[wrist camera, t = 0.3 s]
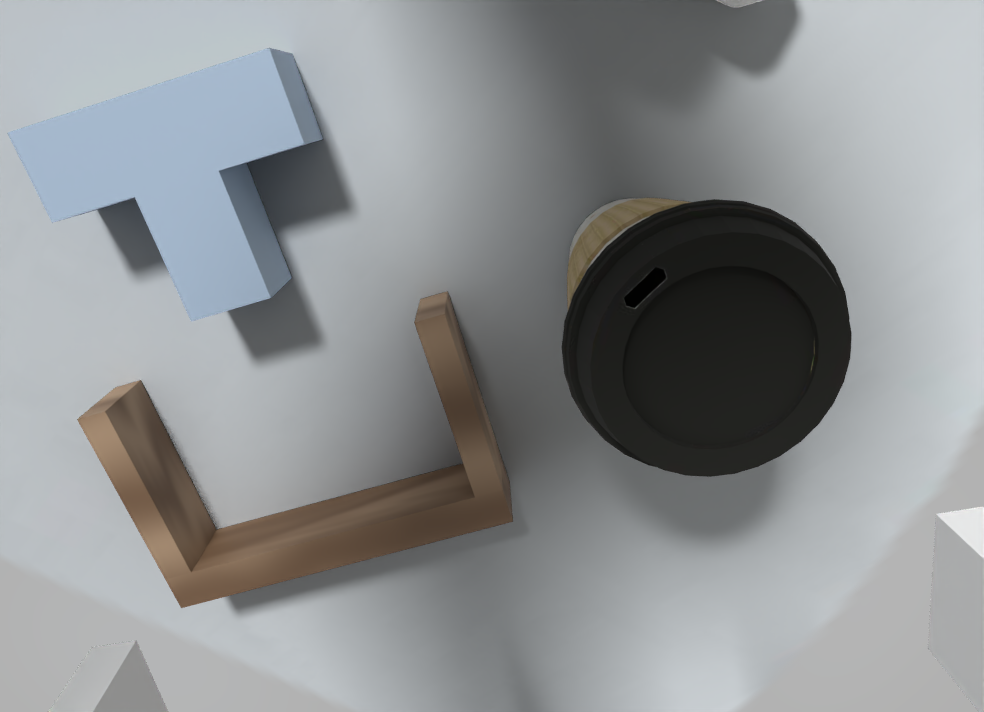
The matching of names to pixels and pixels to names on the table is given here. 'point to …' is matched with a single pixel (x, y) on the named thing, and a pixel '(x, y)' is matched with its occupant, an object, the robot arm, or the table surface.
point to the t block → (184, 170)
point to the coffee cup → (702, 332)
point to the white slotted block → (738, 2)
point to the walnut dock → (312, 528)
